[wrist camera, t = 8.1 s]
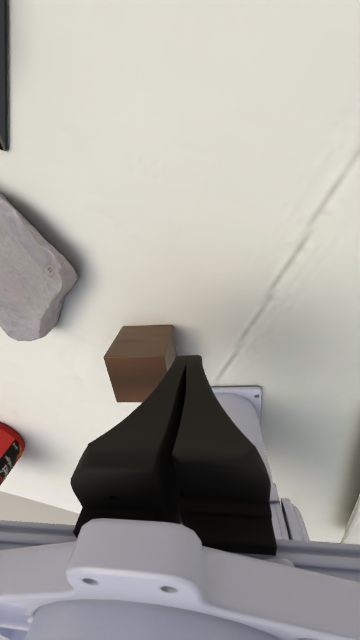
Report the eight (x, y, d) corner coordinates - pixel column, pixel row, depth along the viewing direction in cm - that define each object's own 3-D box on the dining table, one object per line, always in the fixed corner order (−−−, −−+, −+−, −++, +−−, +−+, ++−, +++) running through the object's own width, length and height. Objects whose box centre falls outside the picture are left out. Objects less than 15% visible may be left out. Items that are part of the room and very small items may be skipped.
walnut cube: (177, 366, 25) (171, 402, 21) (131, 366, 26) (116, 402, 21) (172, 324, 23) (164, 355, 18) (122, 326, 23) (103, 357, 19)
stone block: (-25, 165, 20) (-68, 265, 22) (-83, 145, 15) (-128, 273, 17) (102, 255, 22) (52, 334, 25) (86, 260, 18) (27, 356, 20)
